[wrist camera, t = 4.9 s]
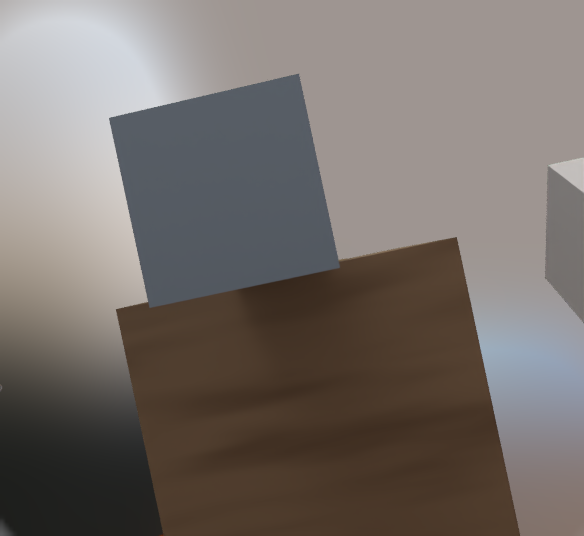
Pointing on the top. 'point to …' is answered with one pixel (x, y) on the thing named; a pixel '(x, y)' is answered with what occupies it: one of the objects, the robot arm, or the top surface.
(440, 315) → the stand
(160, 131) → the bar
